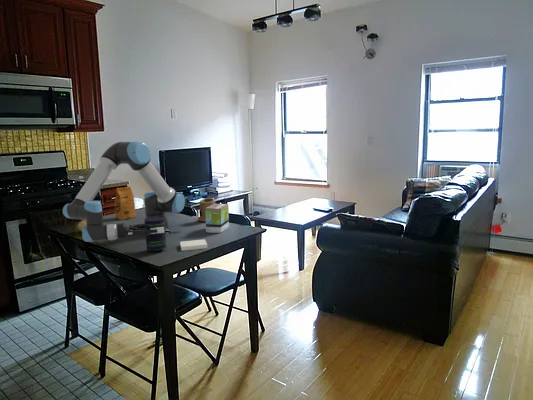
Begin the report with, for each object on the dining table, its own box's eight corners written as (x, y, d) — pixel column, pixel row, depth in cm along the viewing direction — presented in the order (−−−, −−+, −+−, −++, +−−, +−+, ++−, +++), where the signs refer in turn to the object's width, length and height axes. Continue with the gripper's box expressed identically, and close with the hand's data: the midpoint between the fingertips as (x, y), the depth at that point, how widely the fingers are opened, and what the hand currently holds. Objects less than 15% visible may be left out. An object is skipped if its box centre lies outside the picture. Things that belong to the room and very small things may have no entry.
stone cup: (204, 223, 258) (202, 200, 255) (195, 220, 267) (194, 198, 265) (224, 220, 267) (223, 197, 264) (215, 217, 276) (214, 195, 274)
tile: (181, 247, 202) (207, 244, 205) (180, 241, 211) (204, 239, 214) (181, 251, 202) (207, 248, 205) (180, 246, 212) (205, 243, 215)
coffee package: (113, 219, 280) (110, 187, 276) (129, 215, 289) (127, 185, 286) (121, 220, 274) (118, 188, 270) (137, 217, 283) (134, 186, 279)
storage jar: (142, 249, 201) (139, 220, 198) (154, 244, 210) (152, 216, 207) (159, 251, 197) (156, 221, 194) (170, 245, 206) (168, 217, 203)
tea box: (222, 233, 234) (220, 208, 231) (205, 232, 236) (204, 208, 233) (229, 226, 248) (228, 203, 246) (214, 226, 250) (212, 203, 248)
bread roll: (91, 229, 253) (89, 216, 252) (100, 233, 242) (99, 220, 241) (75, 232, 247) (73, 219, 245) (84, 236, 236) (82, 223, 235)
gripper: (119, 233, 208) (164, 229, 214) (115, 245, 187) (165, 240, 193) (118, 219, 207) (163, 215, 213) (114, 229, 186) (163, 225, 191)
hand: (164, 227), depth 203 cm, fingers closed on storage jar, 10 cm apart
